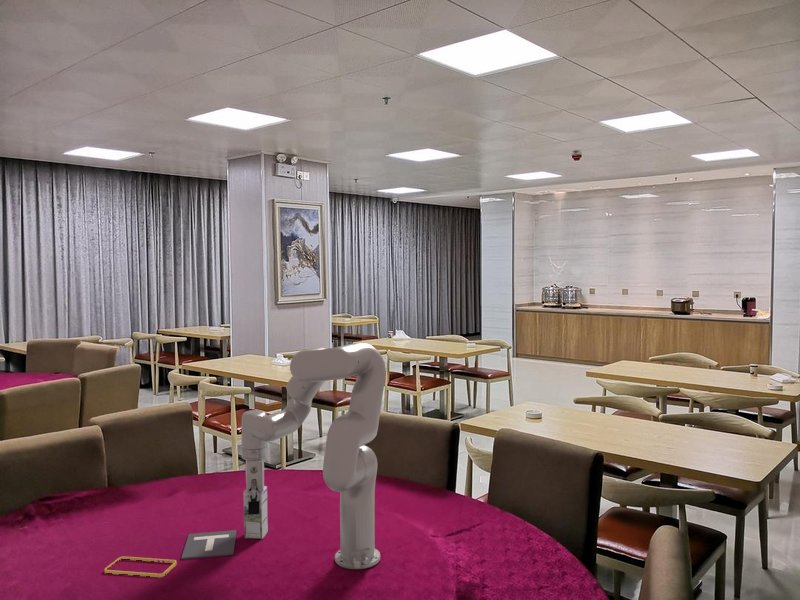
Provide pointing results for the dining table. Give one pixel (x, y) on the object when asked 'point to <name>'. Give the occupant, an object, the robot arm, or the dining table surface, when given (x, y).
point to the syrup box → (256, 517)
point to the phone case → (142, 572)
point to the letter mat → (209, 544)
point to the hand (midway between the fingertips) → (254, 507)
